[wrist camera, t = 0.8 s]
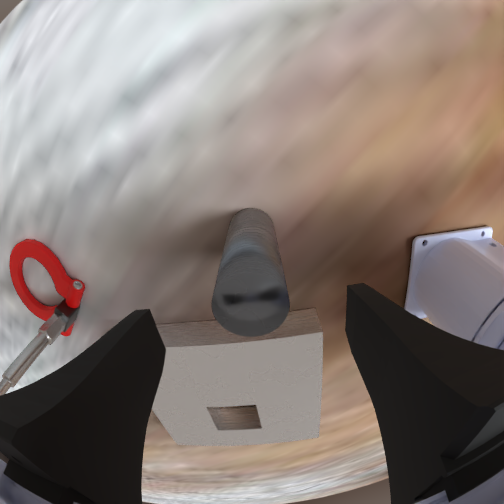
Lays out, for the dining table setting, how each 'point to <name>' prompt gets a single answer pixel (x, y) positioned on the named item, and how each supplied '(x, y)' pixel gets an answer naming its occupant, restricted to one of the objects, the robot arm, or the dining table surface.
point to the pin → (250, 277)
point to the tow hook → (42, 306)
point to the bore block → (241, 383)
